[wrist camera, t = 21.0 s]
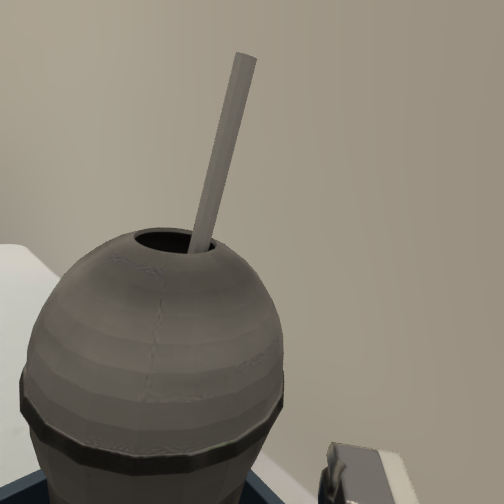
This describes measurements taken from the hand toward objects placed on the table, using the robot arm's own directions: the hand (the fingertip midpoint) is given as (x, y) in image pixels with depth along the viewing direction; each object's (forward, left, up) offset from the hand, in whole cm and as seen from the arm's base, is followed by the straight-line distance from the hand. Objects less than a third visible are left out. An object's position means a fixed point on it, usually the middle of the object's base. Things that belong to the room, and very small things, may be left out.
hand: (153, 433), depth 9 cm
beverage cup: (+2, -1, -12) cm, 12 cm away
